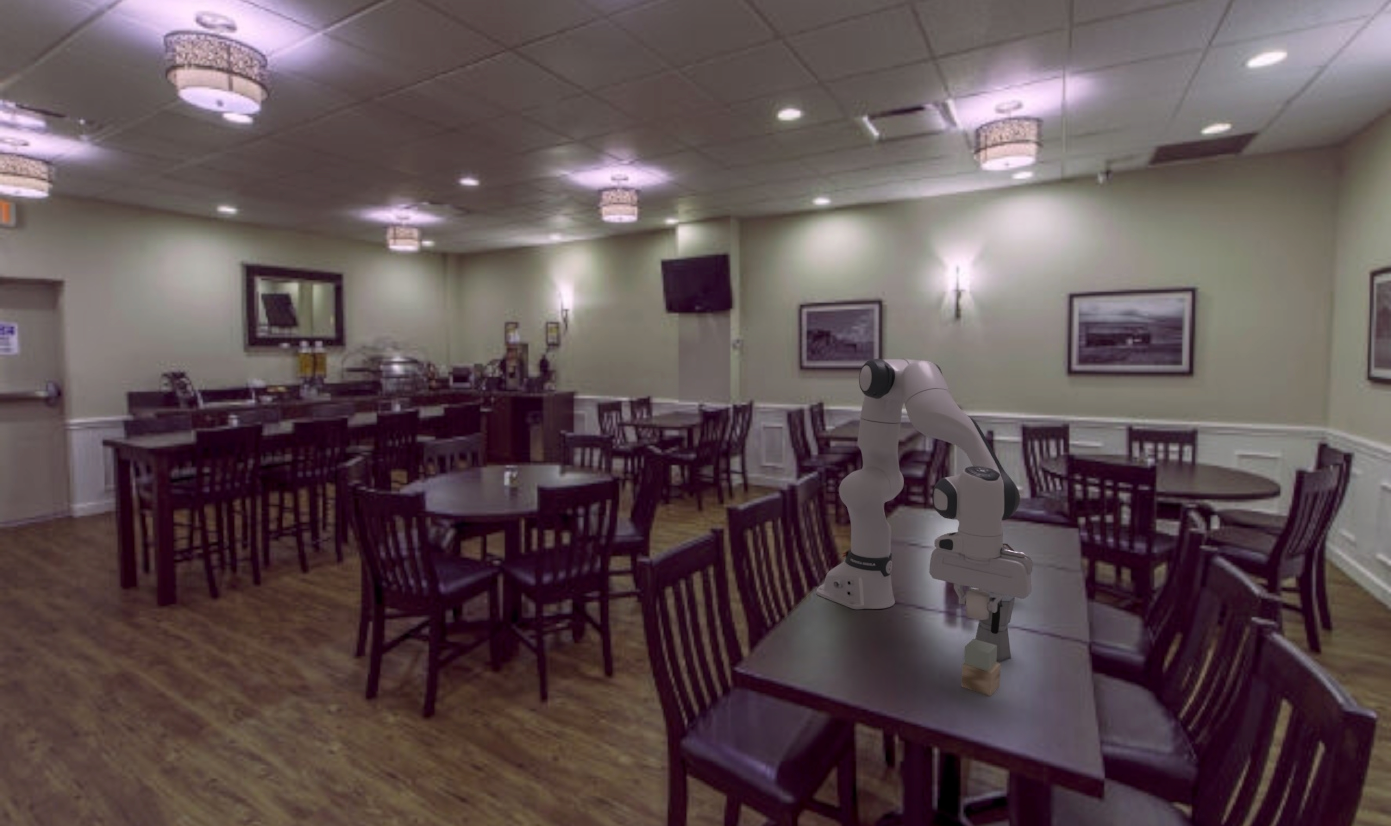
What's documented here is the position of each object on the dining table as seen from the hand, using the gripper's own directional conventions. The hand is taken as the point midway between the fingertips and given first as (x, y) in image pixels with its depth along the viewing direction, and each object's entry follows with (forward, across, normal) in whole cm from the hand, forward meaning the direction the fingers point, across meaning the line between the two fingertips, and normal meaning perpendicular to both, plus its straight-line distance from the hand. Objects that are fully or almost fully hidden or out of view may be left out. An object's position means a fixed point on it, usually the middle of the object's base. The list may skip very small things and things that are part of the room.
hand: (977, 607), depth 141 cm
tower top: (+13, -1, -1) cm, 13 cm away
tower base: (+18, -1, -1) cm, 18 cm away
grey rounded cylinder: (+2, 0, 0) cm, 2 cm away
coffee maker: (+18, +2, -18) cm, 25 cm away
